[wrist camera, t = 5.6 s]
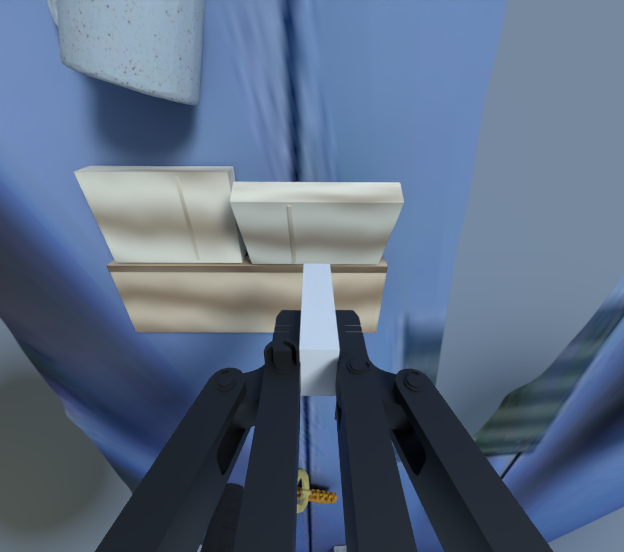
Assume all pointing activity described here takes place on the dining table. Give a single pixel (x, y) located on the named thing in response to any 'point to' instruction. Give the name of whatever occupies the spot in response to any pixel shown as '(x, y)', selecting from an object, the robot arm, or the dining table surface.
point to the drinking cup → (224, 521)
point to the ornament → (311, 493)
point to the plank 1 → (165, 212)
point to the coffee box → (340, 548)
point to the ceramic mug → (135, 43)
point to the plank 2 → (316, 220)
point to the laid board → (236, 294)
